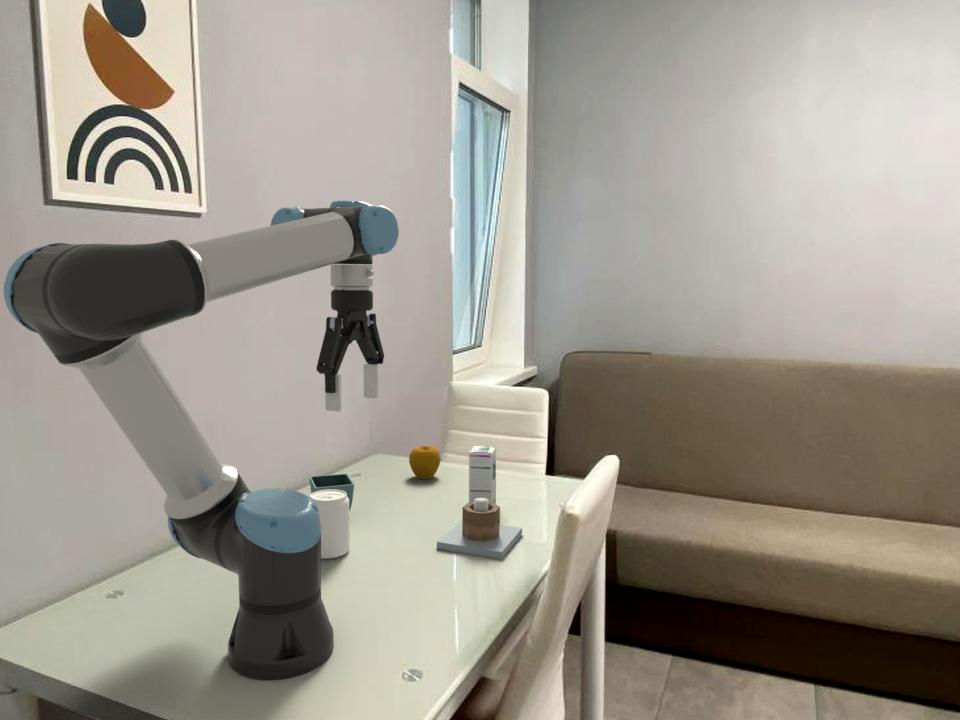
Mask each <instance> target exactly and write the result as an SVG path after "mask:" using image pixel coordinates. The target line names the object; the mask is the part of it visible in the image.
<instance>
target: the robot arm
mask: <svg viewBox="0 0 960 720" xmlns="http://www.w3.org/2000/svg"><path fill="white" fill-rule="evenodd" d="M399 231H400V229H399V225H398V219H397V218H396V215H395V214H394V212H393V211H392V210H391V209H390V208H388V207H386V206H384V205H373V204H370V203H368V202H365V201H359V200H358V201H357V200H334V201H332V202H331V203H330V205H329V207H318V208H317V207H315V208H302V207H299V206H294V207H282V208H279V209H278V210H277V211H276V212H275V213H274V214H273V216H272V218H271V221H270V225H268V226H264V227H260V228H255V229H252V230H247V231H242V232H238V233H233V234H229V235H224V236H220V237H219V236H218V237H216V238H215V237H214V238H212V239H208V240H201V241H198V242H193V243H190V244H185V242H182V241H180V240H178V239H168V240H163V241H158V242H153V243H152V242H151V243H138V244H136V243H135V244H116V243H114V244H113V243H86V244H85V243H83V244H75V243H74V244H71V243H66V242H55V243H48V244H47V245H43V246H38V247H35V248H32V249H30V250H28V251H26V252H24V253H23V254H22V255H20V256H19V257H18V258H17V259H15V261H14V262H13V263H12V264H11V266H10V267H9V269H8V271H7V273H6V275H5V280H4V283H3V298H4V303H5V305H6V307H7V309H8V310H7V311H9V313H10V315H12V316H11V317H13V319H15V321H16V322H18V324H19V325H21V326H22V327H24V328H26V329H27V330H28V331H30V332H33V333H36V334H38V335H39V337H40V338H41V339H42V341H43V342H44V344H45V345H46V347H47V348H48V349H49V350H50V352H51V353H52V354H53V356H54V358H55V359H56V360H57V361H58V363H59V364H60V365H61V366H64V367H65V366H66V367H70V368H76V369H78V370H79V371H80V372H81V373H82V375H83V376H84V378H85V379H86V381H87V382H88V384H89V385H90V386H91V388H92V389H93V391H94V393H95V394H96V395H97V396H98V398H99V400H100V401H101V402H102V404H103V405H104V406H105V408H106V410H107V411H108V412H109V414H110V415H111V417H112V418H113V419H114V421H115V422H116V424H117V425H118V427H119V429H120V430H121V431H122V432H123V434H124V435H125V437H126V438H127V440H128V441H129V443H130V444H131V445H132V447H133V448H134V450H135V451H136V453H137V454H138V455H139V457H140V459H142V461H143V463H144V464H145V466H146V467H147V468H148V470H149V471H150V473H151V474H152V476H153V477H154V479H155V481H156V482H158V484H159V486H160V487H161V488H162V491H164V493H165V494H166V498H165V501H164V504H163V508H164V512H165V514H166V516H167V517H168V518H167V527H168V530H169V533H170V536H171V537H172V539H173V541H174V542H175V543H176V544H177V546H179V547H180V548H181V549H182V550H184V551H185V552H186V553H188V554H189V555H190V556H192V557H195V558H196V559H202V560H205V561H207V562H210V563H212V564H214V565H216V566H219V567H220V568H222V569H225V570H227V571H229V572H232V573H233V574H236V575H237V576H238V577H237V578H238V599H239V600H238V601H239V605H238V609H237V612H236V617H235V619H234V623H233V626H232V630H231V632H230V635H229V639H228V643H227V655H228V656H227V657H228V658H227V659H228V664H229V666H230V668H231V669H232V670H234V672H237V673H238V674H240V675H242V676H245V677H247V678H253V679H257V680H278V679H286V678H287V679H288V678H291V677H295V676H299V675H301V674H304V673H307V672H309V671H312V670H314V669H316V668H317V667H319V666H321V665H322V664H323V663H324V662H326V661H327V660H328V658H329V657H330V656H331V655H332V653H333V651H334V648H335V645H334V644H335V641H334V640H335V639H334V628H333V626H332V624H331V622H330V619H329V616H328V613H327V610H326V607H325V604H324V601H323V599H322V559H321V524H320V518H319V510H318V507H317V505H316V503H315V502H314V501H313V500H312V499H311V498H310V495H309V496H308V495H307V494H305V493H303V492H300V491H296V490H293V489H289V488H288V489H287V488H286V489H283V490H282V489H280V488H277V487H276V488H274V487H273V488H263V489H258V490H254V491H251V490H250V489H249V487H248V486H247V485H246V483H245V481H244V479H243V478H242V476H241V475H240V473H239V472H238V470H237V469H236V467H235V466H234V465H232V464H230V463H224V462H220V461H219V459H218V458H217V456H216V454H215V452H214V451H213V450H212V448H211V447H210V445H209V444H208V442H207V440H206V439H205V437H204V435H203V433H202V432H201V430H200V429H199V427H198V426H197V423H195V421H194V419H193V417H192V416H191V415H190V412H189V411H188V409H187V408H186V407H185V405H184V403H183V402H182V400H181V398H180V397H179V395H178V393H177V392H176V390H175V388H174V387H173V385H172V384H171V383H170V380H169V379H168V377H167V375H166V374H165V373H164V371H163V369H162V368H161V366H160V364H159V362H158V361H157V359H156V358H155V357H154V355H153V353H152V351H151V350H150V349H149V347H148V345H147V344H146V342H145V340H144V339H143V337H142V335H143V333H144V332H145V333H146V332H148V331H152V330H154V329H157V328H159V327H160V328H161V327H162V326H166V325H168V324H171V323H174V322H176V321H180V320H183V319H185V318H189V317H192V316H196V315H199V314H200V313H202V312H203V310H204V308H205V306H206V304H207V303H210V302H212V301H217V300H220V299H222V298H226V297H229V296H232V295H235V294H238V293H242V292H245V291H248V290H251V289H256V288H258V287H261V286H265V285H267V284H268V285H269V284H271V283H274V282H277V281H281V280H284V279H289V278H291V277H293V276H297V275H300V274H301V275H302V274H304V273H308V272H310V271H313V270H317V269H320V268H324V267H327V266H330V286H331V287H333V289H332V290H331V291H330V307H331V308H330V309H331V310H332V311H336V312H337V315H336V316H334V317H333V316H328V317H326V321H325V332H324V336H323V341H322V344H321V348H320V352H319V356H318V359H317V363H316V371H317V372H318V374H320V375H321V374H322V375H324V392H325V394H324V395H325V397H324V398H325V411H329V412H342V374H340V373H339V371H340V369H341V366H342V363H343V360H344V358H345V356H346V352H347V350H348V348H349V345H351V344H352V343H353V342H354V341H356V343H357V345H358V347H359V350H360V352H361V354H362V356H363V358H364V360H365V362H366V363H363V398H366V399H378V398H379V365H383V363H384V359H385V353H384V348H383V345H382V341H381V337H380V334H379V329H378V326H377V315H376V313H373V312H372V313H371V312H370V313H369V311H372V310H373V308H374V292H373V290H372V289H370V288H372V286H373V282H374V281H373V280H374V279H373V278H374V277H373V276H374V273H375V271H374V270H373V257H374V256H377V255H384V254H387V253H389V252H391V251H392V250H393V249H394V248H395V246H396V245H397V242H398V239H399V234H400V233H399Z"/></svg>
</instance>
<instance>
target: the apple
mask: <svg viewBox="0 0 960 720" xmlns="http://www.w3.org/2000/svg"><path fill="white" fill-rule="evenodd" d="M440 455H441V454H440V451H439V450H438V448H436V446H433V445H419V446H416V447H414V448H412V450H411V451H410V453H409V457H408V463H409V466H410V469H411V471H412V473H413V474H414V476H416V478H418V479H420V478H421V480H428V478H429V479H432V478H433V477H434V476H435V475H436V473H437V472H438V469H439V466H440V464H441V456H440ZM431 477H432V478H431Z"/></svg>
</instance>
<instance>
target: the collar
mask: <svg viewBox="0 0 960 720" xmlns="http://www.w3.org/2000/svg"><path fill="white" fill-rule="evenodd" d="M500 512H501V507H500V506H499V505H498V504H497V503H496V504H495V503H492V502H488V510H487V511H476V510H474V502H469V501H468V502H467V503H465V505H464V504H463V506H462V519H461V520H462V535H463V536H464V537H466V538H467V539H468V540H474V541H480V542H483V541H489V540H495V539H496V538H497V537H498V535H499V528H500V525H501V523H500V520H501V519H500V517H501V516H500V515H501V513H500Z"/></svg>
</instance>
